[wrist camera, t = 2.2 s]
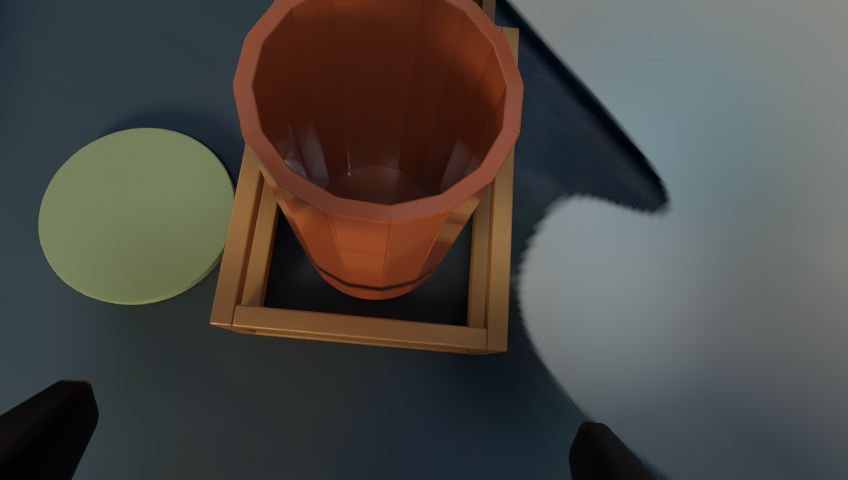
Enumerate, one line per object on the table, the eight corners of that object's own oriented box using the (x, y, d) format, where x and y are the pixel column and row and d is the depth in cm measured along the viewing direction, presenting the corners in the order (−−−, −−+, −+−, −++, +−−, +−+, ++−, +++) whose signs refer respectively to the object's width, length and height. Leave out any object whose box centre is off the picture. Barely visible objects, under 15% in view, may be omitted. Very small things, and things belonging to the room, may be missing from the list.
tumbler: (463, 280, 24) (560, 185, 12) (321, 316, 22) (264, 252, 10) (425, 152, 25) (477, -49, 13) (291, 179, 24) (212, -14, 12)
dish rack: (481, 355, 23) (589, 339, 12) (240, 333, 22) (105, 292, 11) (494, 83, 27) (585, -124, 15) (291, 55, 26) (231, -186, 15)
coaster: (252, 279, 22) (249, 277, 22) (55, 325, 21) (46, 324, 20) (222, 119, 24) (218, 112, 24) (39, 151, 23) (30, 146, 22)
